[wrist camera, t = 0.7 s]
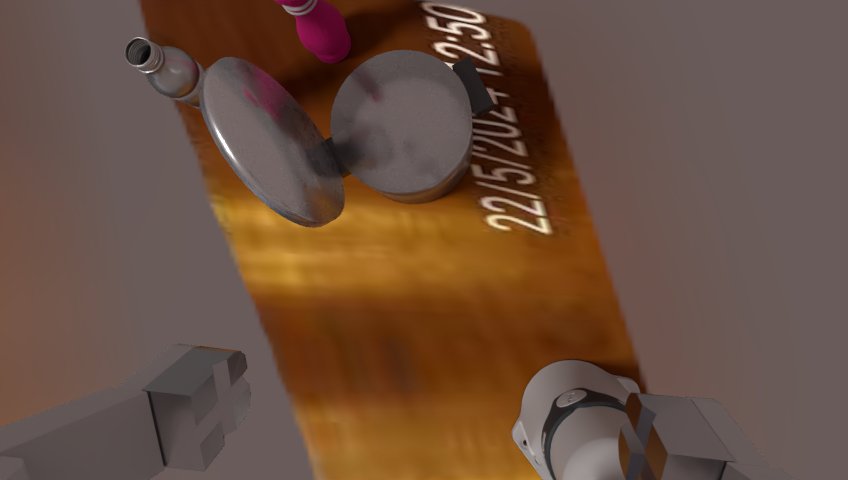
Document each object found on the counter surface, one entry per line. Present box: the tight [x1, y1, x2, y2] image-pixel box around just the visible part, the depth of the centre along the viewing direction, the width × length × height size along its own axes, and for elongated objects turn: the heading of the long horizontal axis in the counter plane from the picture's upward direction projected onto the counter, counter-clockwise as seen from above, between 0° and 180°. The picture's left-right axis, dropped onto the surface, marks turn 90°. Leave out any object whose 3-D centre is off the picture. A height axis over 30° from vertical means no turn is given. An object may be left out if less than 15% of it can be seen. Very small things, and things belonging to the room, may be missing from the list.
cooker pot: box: [325, 50, 494, 204], centre depth 58 cm, size 18×22×12 cm
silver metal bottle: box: [124, 37, 206, 111], centre depth 58 cm, size 6×7×20 cm
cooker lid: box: [198, 57, 345, 228], centre depth 44 cm, size 19×19×3 cm
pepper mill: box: [274, 0, 351, 63], centre depth 57 cm, size 7×7×20 cm
